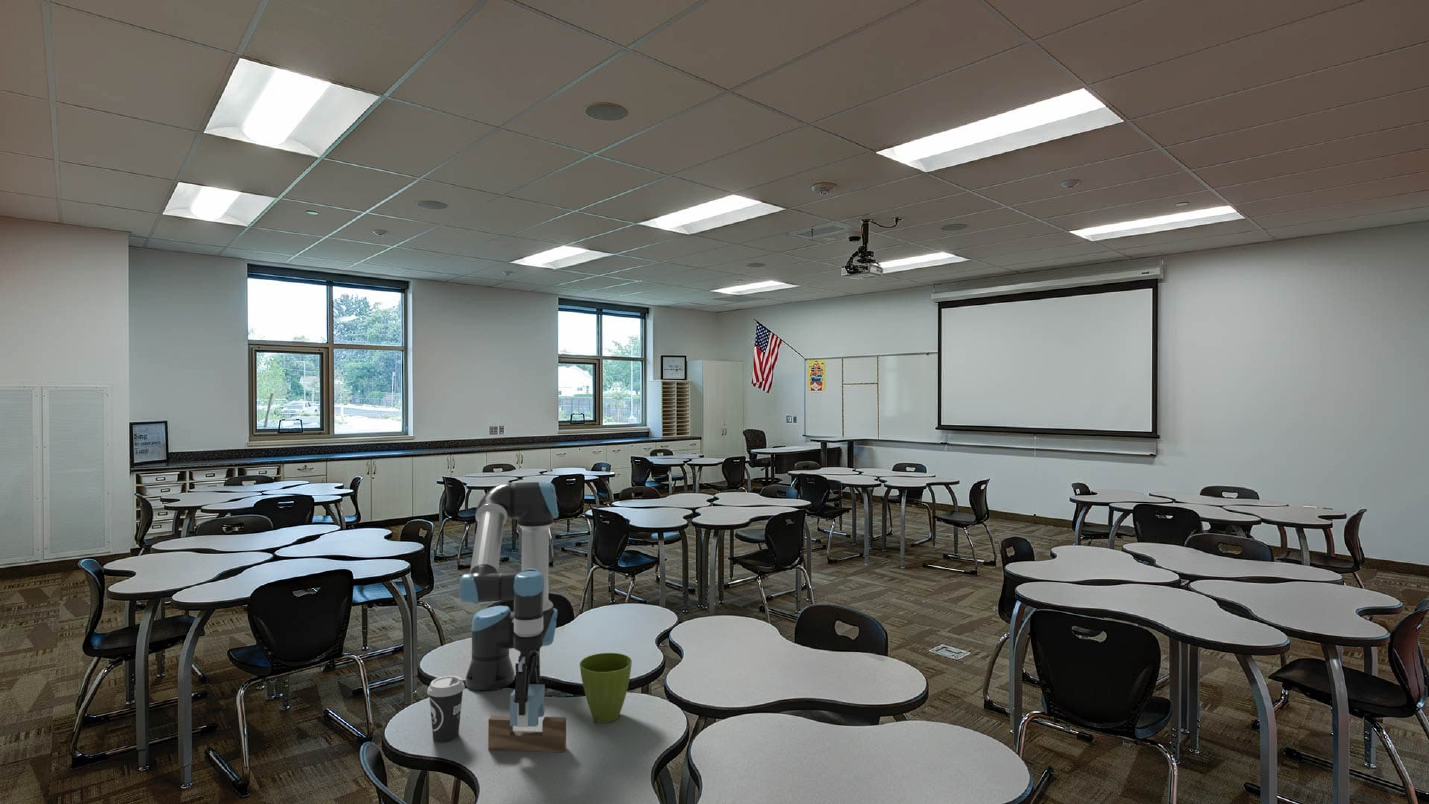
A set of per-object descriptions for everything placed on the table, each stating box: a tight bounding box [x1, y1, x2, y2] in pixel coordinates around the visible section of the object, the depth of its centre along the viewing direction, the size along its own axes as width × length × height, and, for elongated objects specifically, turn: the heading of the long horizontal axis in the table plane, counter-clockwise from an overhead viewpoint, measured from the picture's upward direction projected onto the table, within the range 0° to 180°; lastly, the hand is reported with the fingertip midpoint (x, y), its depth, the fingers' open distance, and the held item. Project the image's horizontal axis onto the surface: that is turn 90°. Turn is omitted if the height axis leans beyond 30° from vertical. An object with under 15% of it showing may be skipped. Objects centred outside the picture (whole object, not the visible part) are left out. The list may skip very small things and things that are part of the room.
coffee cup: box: [426, 675, 466, 743], centre depth 186 cm, size 10×10×15 cm
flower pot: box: [579, 652, 633, 723], centre depth 198 cm, size 15×15×16 cm
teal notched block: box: [509, 683, 546, 728], centre depth 180 cm, size 7×7×8 cm
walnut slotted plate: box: [487, 714, 567, 753], centre depth 180 cm, size 2×20×8 cm, turn 88°
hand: (527, 718), depth 180 cm, fingers closed on teal notched block, 7 cm apart
